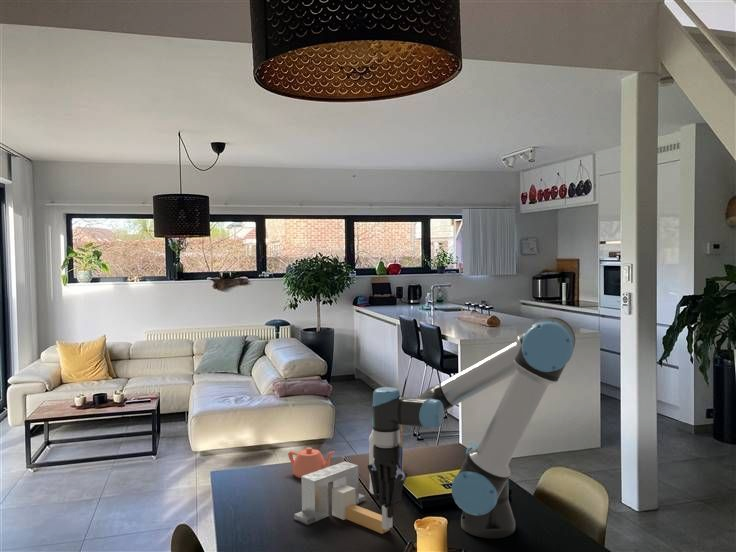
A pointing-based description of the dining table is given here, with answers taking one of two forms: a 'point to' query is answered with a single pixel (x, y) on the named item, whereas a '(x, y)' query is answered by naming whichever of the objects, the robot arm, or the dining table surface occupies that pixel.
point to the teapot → (308, 461)
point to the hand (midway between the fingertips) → (387, 527)
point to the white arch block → (325, 490)
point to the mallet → (354, 509)
